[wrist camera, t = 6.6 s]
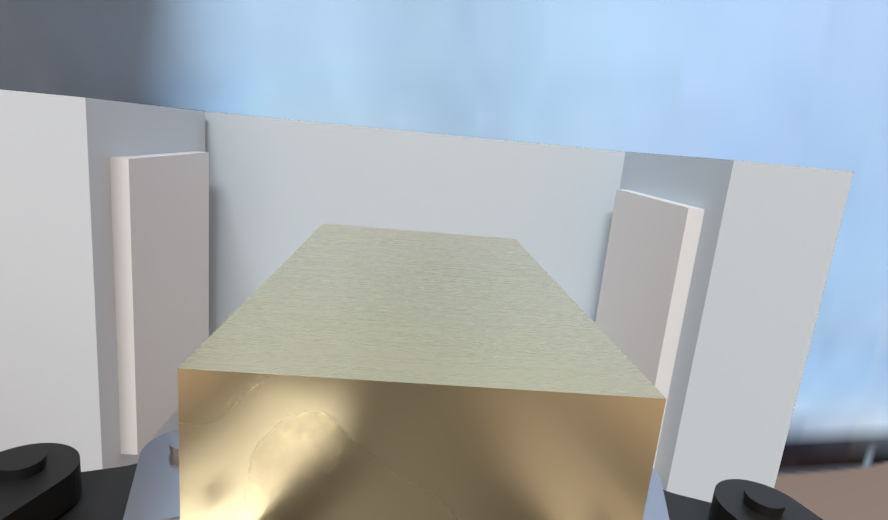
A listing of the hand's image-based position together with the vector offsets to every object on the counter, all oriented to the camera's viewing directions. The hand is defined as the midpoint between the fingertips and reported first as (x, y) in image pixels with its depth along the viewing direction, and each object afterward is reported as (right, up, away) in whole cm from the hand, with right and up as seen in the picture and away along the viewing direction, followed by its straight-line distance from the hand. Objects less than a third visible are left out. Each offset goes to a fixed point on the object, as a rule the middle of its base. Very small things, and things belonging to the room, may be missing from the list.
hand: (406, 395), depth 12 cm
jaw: (-13, +3, +10) cm, 17 cm away
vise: (-1, +3, +13) cm, 13 cm away
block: (0, 0, +1) cm, 1 cm away
